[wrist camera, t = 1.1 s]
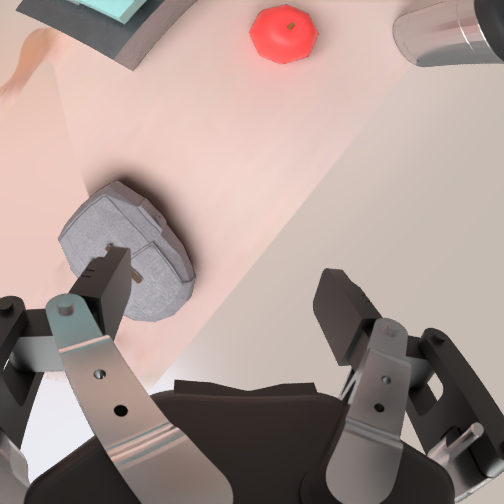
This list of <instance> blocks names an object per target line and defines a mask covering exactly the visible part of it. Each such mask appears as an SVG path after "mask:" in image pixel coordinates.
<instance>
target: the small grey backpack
mask: <svg viewBox="0 0 504 504" xmlns="http://www.w3.org/2000/svg"><path fill="white" fill-rule="evenodd" d="M166 222H167V221H166V219H165V218H164V217H163V215H162V214H161V213H160V212H159V211H157V209H156V208H155V207H154V206H153V205H152V204H151V203H150V202H149V201H148V199H147V198H144V197H142V196H141V195H139V194H137V193H136V192H134V191H133V190H131V189H130V188H128V187H127V186H125V185H124V184H122V183H121V182H119V181H114V182H113V183H111V184H109V185H107V186H105V187H104V188H102V189H100V190H98V191H97V192H96V193H95V194H93V195H92V196H91V197H90V198H89V199H88V200H87V201H85V202H84V203H83V204H82V205H81V206H80V208H79V209H78V210H77V211H76V212H75V213H74V215H73V216H72V217H71V218H70V219H69V221H68V222H67V223H66V224H65V226H64V228H63V230H62V232H61V234H60V236H59V238H58V241H59V243H60V244H61V246H62V249H63V251H64V253H65V256H66V258H67V260H68V262H69V265H70V269H71V271H72V272H73V273H74V274H75V275H76V276H77V278H79V276H81V274H82V272H83V271H84V270H85V268H86V267H87V265H88V264H89V262H91V261H92V260H94V259H95V258H97V257H105V255H106V254H107V252H108V251H109V249H110V248H111V247H112V246H118V247H127V248H130V250H131V275H132V288H131V294H130V298H129V301H128V303H127V306H126V308H125V311H124V314H123V315H124V316H126V317H128V318H130V319H132V320H135V321H148V322H156V321H159V320H162V319H165V318H167V317H170V316H173V315H174V314H175V313H176V312H177V311H178V310H179V309H180V308H181V307H182V306H183V305H184V304H185V303H186V302H187V301H188V300H189V299H190V298H191V296H192V291H193V287H194V282H195V278H196V275H195V272H194V270H193V267H192V265H191V262H190V260H189V258H188V256H187V253H186V251H185V248H184V246H183V244H182V243H181V242H180V241H179V239H178V238H177V237H176V235H175V234H174V233H173V231H172V230H171V229H170V228H169V226H168V225H167V224H166Z"/></svg>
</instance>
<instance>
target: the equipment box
mask: <svg viewBox="0 0 504 504" xmlns="http://www.w3.org/2000/svg"><path fill="white" fill-rule="evenodd" d="M195 1H197V0H147V1H146V2H145V3H144V4H143V5H142V6H141V7H140V8H139V9H138V10H137V11H136V12H135V13H134V14H133V15H132V17H131V18H130V19H129V20H128V21H127V22H126V23H125V24H123V23H121V22H120V21H118V20H116V19H114V18H112V17H110V16H108V15H105V14H103V13H101V12H99V11H97V10H95V9H93V8H90V7H88V6H86V5H84V4H81V3H79V2H77V1H74V0H23V1H22V2H21V3H20V5H19V6H18V7H17V9H16V11H18V12H20V13H23V14H25V15H27V16H29V17H32V18H34V19H36V20H38V21H40V22H43V23H45V24H47V25H49V26H51V27H53V28H55V29H57V30H59V31H61V32H63V33H65V34H67V35H69V36H71V37H73V38H75V39H77V40H79V41H80V42H82V43H84V44H86V45H88V46H90V47H91V48H93V49H95V50H97V51H99V52H100V53H102V54H104V55H106V56H107V57H109V58H111V59H113V60H114V61H116V62H118V63H120V64H121V65H123V66H125V67H126V68H128V69H130V70H132V71H134V69H135V68H136V67H137V65H138V64H139V63H140V62H141V60H142V59H143V58H144V57H145V55H146V54H147V53H148V52H149V51H150V49H151V48H152V47H153V46H154V45H155V43H156V42H157V41H158V40H159V39H160V38H161V37H162V35H163V34H164V33H165V32H166V31H167V30H168V29H169V28H170V27H171V26H172V25H173V23H174V22H175V21H176V20H177V19H178V18H179V17H180V16H181V15H182V14H183V13H184V12H185V11H186V10H187V9H188V8H189V7H190V6H191V5H192V4H193V3H194V2H195Z"/></svg>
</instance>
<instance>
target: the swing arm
mask: <svg viewBox="0 0 504 504" xmlns="http://www.w3.org/2000/svg"><path fill="white" fill-rule="evenodd" d="M74 1H77V2H79V3H81V4H84V5H86V6H88V7H90V8H93V9H95V10H97V11H99V12H101V13H103V14H105V15H108V16H110V17H112V18H114V19H116V20H118V21H120V22H121V23H123V24H125V23H126V22H127V21H128V20H129V19H130V18H131V17H132V15H133V14H134V13H135V12H136V11H137V10H138V9H139V8H140V7H141V6H142V5H143V4H144V3H145V2H146V1H147V0H74Z"/></svg>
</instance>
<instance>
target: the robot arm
mask: <svg viewBox="0 0 504 504" xmlns="http://www.w3.org/2000/svg"><path fill="white" fill-rule="evenodd" d="M393 34H394V39H395V42H396V44H397V46H398V48H399V50H400V51H401V53H402V54H403V56H404V57H405V58H406V59H407V60H409V61H410V62H411V63H413V64H415V65H416V66H420V67H432V66H444V65H458V64H480V63H481V64H483V63H485V64H487V63H503V64H504V0H449V1H445V2H442V3H439V4H435V5H432V6H429V7H426V8H423V9H420V10H417V11H414V12H411V13H409V14H406V15H403V16H401V17H399V18H398V19H397V20H396V21H395V23H394V27H393ZM131 288H132V275H131V250H130V248H127V247H118V246H112V247H111V248H110V249H109V251H108V252H107V254H106V255H105V257H97V258H95V259H94V260H92V261H91V262H89V264H88V265H87V267H86V268H85V270H84V271H83V272H82V274H81V276H79V278H78V279H77V281H76V282H75V284H74V285H73V287H72V288H71V290H70V291H69V293H68V294H61V295H58V296H55V297H54V298H52V299H51V300H50V301H49V302H48V303H47V305H46V309H31V310H26V308H25V305H24V302H23V300H22V299H21V298H19V297H16V296H6V297H3V298H0V504H455V503H457V502H460V501H462V500H463V499H465V498H467V497H468V496H470V495H471V494H473V493H474V492H476V491H477V490H479V489H480V488H482V487H483V486H485V485H486V484H487V483H489V482H490V481H492V480H493V479H494V478H496V477H497V476H498V475H500V474H501V473H502V472H504V416H503V414H502V412H501V411H500V409H499V408H498V406H497V404H496V403H495V402H494V400H493V398H492V397H491V395H490V394H489V392H488V391H487V389H486V388H485V386H484V385H483V383H482V382H481V380H480V379H479V378H478V376H477V375H476V373H475V372H474V370H473V369H472V368H471V366H470V365H469V364H468V362H467V361H466V360H465V358H464V357H463V355H462V354H461V353H460V351H459V350H458V349H457V347H456V346H455V345H454V343H453V342H452V341H451V340H450V338H449V337H448V336H447V335H446V334H445V333H443V332H442V331H440V330H437V329H434V328H428V329H425V331H424V333H423V335H422V336H421V338H419V337H413V336H409V335H408V333H407V331H406V329H405V328H404V327H403V326H402V325H401V324H400V323H398V322H396V321H395V320H392V319H389V318H383V317H382V316H381V315H380V313H379V312H378V311H377V309H376V308H375V307H374V305H373V304H372V303H371V302H370V300H369V299H368V297H367V296H366V295H365V293H364V292H363V291H362V289H361V288H360V287H358V286H357V285H356V284H354V283H353V282H352V281H351V280H350V279H349V278H348V276H347V275H346V274H345V273H344V271H343V270H339V269H329V268H326V269H324V271H323V273H322V276H321V278H320V282H319V285H318V288H317V291H316V294H315V297H314V301H313V311H314V314H315V316H316V318H317V320H318V322H319V324H320V326H321V328H322V331H323V333H324V335H325V337H326V339H327V341H328V343H329V345H330V347H331V349H332V352H333V354H334V356H335V358H336V361H337V363H338V365H339V366H347V365H351V366H352V368H351V370H350V372H349V374H348V376H347V378H346V381H345V383H344V385H343V388H342V390H341V393H340V395H339V397H338V398H336V397H333V396H330V395H327V394H323V393H318V392H317V390H316V387H315V385H314V383H292V384H279V385H276V386H271V387H266V388H262V389H257V390H252V391H244V390H240V389H236V388H231V387H227V386H223V385H218V384H215V383H210V382H197V381H185V380H175V382H174V390H169V391H163V392H159V393H155V394H152V395H150V396H149V395H148V393H147V392H146V391H145V389H144V388H143V386H142V385H141V383H140V382H139V381H138V379H137V378H136V376H135V375H134V373H133V372H132V370H131V369H130V367H129V366H128V364H127V363H126V361H125V360H124V358H123V357H122V355H121V353H120V352H119V350H118V349H117V347H116V345H115V344H114V339H115V336H116V333H117V330H118V327H119V325H120V322H121V319H122V316H123V314H124V311H125V308H126V306H127V303H128V301H129V298H130V294H131ZM8 359H9V361H8V363H7V365H6V367H5V369H4V366H5V364H6V362H7V360H8ZM3 370H4V371H3ZM55 371H65V373H66V375H67V378H68V380H69V382H70V385H71V387H72V389H73V392H74V394H75V396H76V398H77V401H78V403H79V405H80V407H81V409H82V411H83V413H84V415H85V417H86V419H87V421H88V423H89V425H90V427H91V429H92V431H93V433H94V436H93V437H92V438H91V439H89V440H88V441H87V442H85V443H84V444H83V445H81V446H80V447H79V448H77V449H76V450H75V451H73V452H72V453H70V454H69V455H68V456H67V457H65V458H64V459H62V460H61V461H60V462H58V463H57V464H55V465H54V466H53V467H51V468H50V469H48V470H47V471H46V472H44V473H43V474H41V475H40V476H39V477H37V478H36V479H35V480H34V481H33V482H32V483H31V485H30V483H29V479H28V464H27V461H26V458H25V456H24V455H23V454H22V452H21V451H20V448H21V444H22V440H23V437H24V433H25V429H26V426H27V422H28V419H29V416H30V412H31V409H32V406H33V403H34V400H35V396H36V394H37V391H38V388H39V385H40V383H41V380H42V377H43V375H44V372H55ZM434 373H436V375H437V376H438V378H439V379H440V381H441V383H442V384H443V394H442V396H441V398H440V399H439V400H438V401H437V400H436V398H435V396H434V394H433V392H432V391H431V389H430V387H429V386H428V384H427V383H428V381H429V380H430V378H431V377H432V376H433V374H434ZM405 410H406V412H407V414H408V416H409V418H410V421H411V423H412V425H413V427H414V429H415V432H416V434H417V436H418V438H419V440H420V443H421V445H422V447H423V450H424V452H425V454H426V455H424V454H423V453H421V452H419V451H418V450H416V449H415V448H413V447H411V446H410V445H408V444H407V443H405V442H403V441H402V440H400V435H401V430H402V425H403V421H404V415H405Z"/></svg>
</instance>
